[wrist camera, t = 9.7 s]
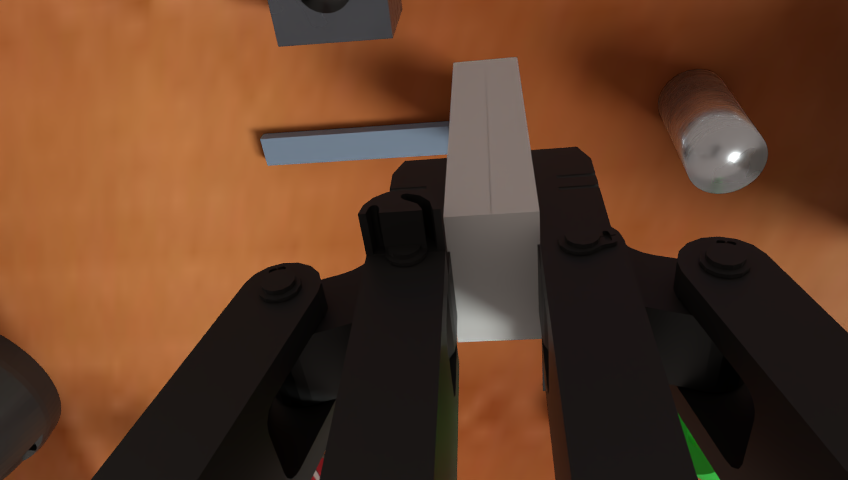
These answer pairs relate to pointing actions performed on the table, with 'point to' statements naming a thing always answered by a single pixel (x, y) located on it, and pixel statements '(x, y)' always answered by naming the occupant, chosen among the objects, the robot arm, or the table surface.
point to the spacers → (711, 132)
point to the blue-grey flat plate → (356, 143)
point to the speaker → (333, 20)
